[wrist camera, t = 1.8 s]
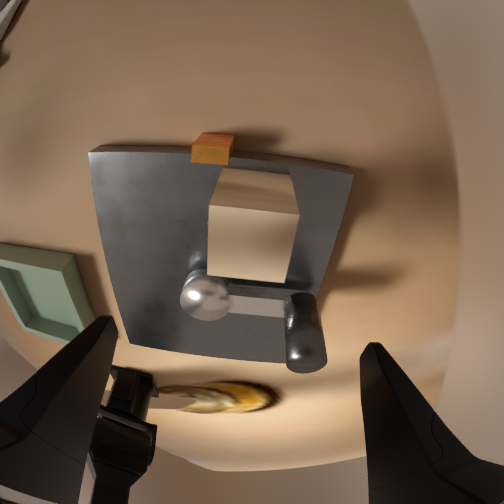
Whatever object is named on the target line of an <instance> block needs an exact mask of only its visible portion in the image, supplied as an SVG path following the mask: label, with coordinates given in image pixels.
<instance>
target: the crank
mask: <svg viewBox="0 0 504 504" xmlns="http://www.w3.org/2000/svg"><path fill="white" fill-rule="evenodd" d="M180 304H181V306H182V308H183V309H184V311H185V312H186V313H188V314H189V315H190V316H192V317H194V318H197V319H200V320H206V321H212V320H217V319H220V318H222V317H224V316H225V315H226V314H227V313H228V312H230V313H240V314H250V315H260V316H271V317H284V327H285V346H286V365H287V368H288V369H289V370H291V371H293V372H296V373H311V372H315V371H318V370H320V369H321V368H323V367H324V366H325V365H326V364H327V354H326V347H325V341H324V335H323V329H322V323H321V317H320V311H319V306H318V301H317V298H316V297H315V296H314V295H312V294H310V293H307V292H305V291H302V290H291V289H280V288H270V287H259V286H250V285H240V284H231V283H230V281H229V280H228V278H227V277H221V276H212V275H207V269H198V270H195V271H193V272H191V273H190V274H189V275H188V276H187V277H186V280H185V283H184V286H183V289H182V293H181V296H180Z"/></svg>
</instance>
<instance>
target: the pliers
mask: <svg viewBox="0 0 504 504" xmlns="http://www.w3.org/2000/svg"><path fill="white" fill-rule="evenodd" d="M7 1H8V0H0V40H1V39H2V37H3V35H4V33H5V31H6V30H7V27H8V25H9V23H10V21H11V19H12V17H13V15H14V13H15V11H16V9H17V8H18V6H19V4H20V2H21V0H11V1H10V2H9V3H8V4H7ZM6 4H7V5H6Z"/></svg>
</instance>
